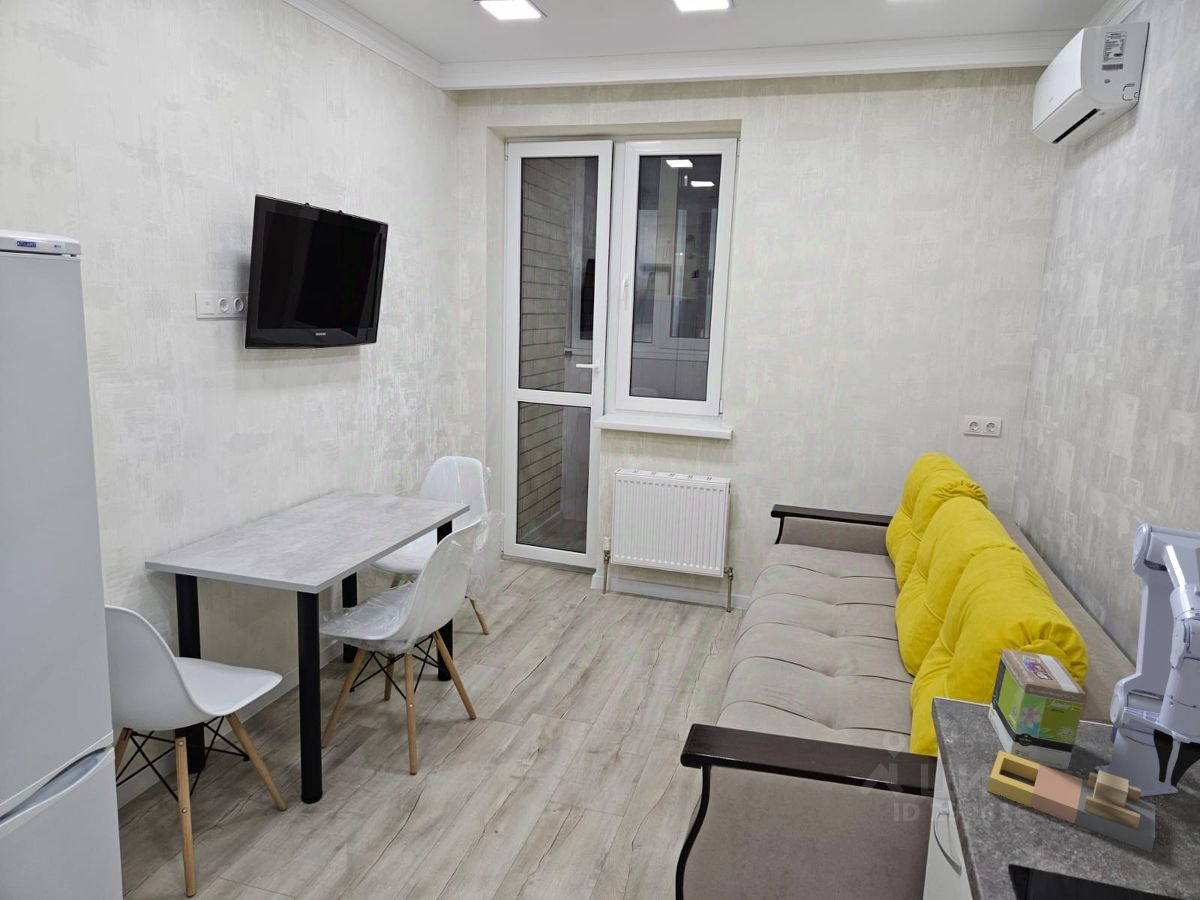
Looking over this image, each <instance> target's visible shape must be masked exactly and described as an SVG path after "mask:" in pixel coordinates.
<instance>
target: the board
mask: <svg viewBox="0 0 1200 900" xmlns="http://www.w3.org/2000/svg"><path fill="white" fill-rule="evenodd" d="M1087 783H1088V780H1086V779H1082V778H1080V777H1077V776H1074V775H1071V774H1069V773H1066V772H1064V771H1060V770H1057V769H1056V768H1053V767H1048V766H1043V765H1040V764H1038V763H1035V762H1032V761H1029V760H1026V759H1023V758H1020V757H1018V756H1015V755H1012V754H1009V753H1006V751H1003V750H999V751H998V753H997V755H996V759H995V762H994V764H993V767H992V769H991V772H990V776H989V778H988V785H987V790H986V791H987V792H989V793H992V794H995V795H996V796H1000V795H1001V796H1000V797H1002V796H1004V797H1003V798H1005V797H1006V798H1005V799H1008V800H1011V801H1014V802H1015V801H1016V803H1018V804H1021V805H1023V804H1024V806H1026V807H1029V808H1031V807H1033V808H1032V809H1035V810H1036V811H1040V812H1043V813H1045V814H1047V815H1050V816H1053V817H1055V818H1058V817H1059V818H1058V819H1061V818H1062V819H1061V820H1063V819H1064V821H1066V820H1067V822H1069V821H1070V822H1069V823H1071V822H1072V823H1071V824H1074V823H1075V824H1074V825H1076V824H1077V825H1076V826H1079V825H1080V826H1079V827H1082V826H1083V827H1082V828H1084V827H1085V828H1084V829H1088V830H1091V831H1092V830H1093V831H1092V832H1094V833H1095V832H1096V833H1098V834H1100V835H1103V836H1106V837H1109V838H1111V839H1114V840H1116V841H1119V842H1122V843H1125V844H1127V845H1131V846H1133V847H1136V848H1137V849H1141V850H1143V851H1145V852H1148V853H1152V851H1153V847H1154V842H1155V839H1156V804H1154V803H1151V802H1148V801H1147V800H1146V801H1145V800H1143V799H1140V798H1139V802H1138V803H1136V802H1133V801H1130V800H1127V799H1126V802H1125V806H1124V809H1126V810H1129V811H1132V812H1135V813H1138V814H1140V820H1139V824H1138V828H1137V829H1134V828H1131V827H1129V826H1126V825H1123V824H1121V823H1118V822H1115V821H1112V820H1110V819H1107V818H1104V817H1101V816H1099V815H1096V814H1093V813H1091V812H1088V811H1085V810H1084V805H1085V800H1086V796H1090V797H1093V794H1094V789H1095V788H1093V787H1090V786H1087Z"/></svg>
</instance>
